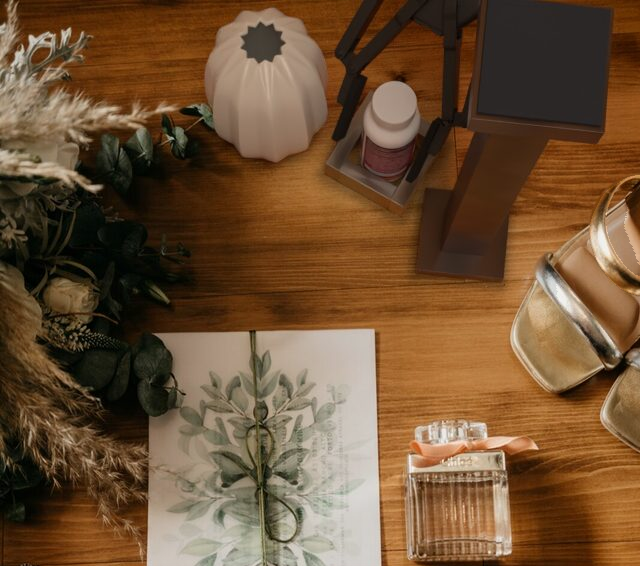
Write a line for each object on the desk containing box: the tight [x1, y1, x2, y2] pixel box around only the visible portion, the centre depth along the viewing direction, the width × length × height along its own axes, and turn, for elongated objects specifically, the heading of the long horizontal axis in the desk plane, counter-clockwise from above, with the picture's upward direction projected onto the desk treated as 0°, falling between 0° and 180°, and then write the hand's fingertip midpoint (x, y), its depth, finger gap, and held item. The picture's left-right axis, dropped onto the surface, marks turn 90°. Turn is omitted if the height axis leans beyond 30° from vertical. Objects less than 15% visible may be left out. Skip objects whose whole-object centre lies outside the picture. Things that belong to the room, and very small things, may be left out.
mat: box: [477, 0, 611, 127], centre depth 54 cm, size 9×9×1 cm
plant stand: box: [415, 0, 615, 284], centre depth 69 cm, size 10×10×31 cm
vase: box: [203, 6, 329, 163], centre depth 79 cm, size 14×14×13 cm
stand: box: [324, 89, 447, 218], centre depth 84 cm, size 10×10×2 cm
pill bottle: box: [358, 80, 421, 183], centre depth 79 cm, size 6×6×11 cm
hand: (374, 158), depth 80 cm, fingers open, 9 cm apart
